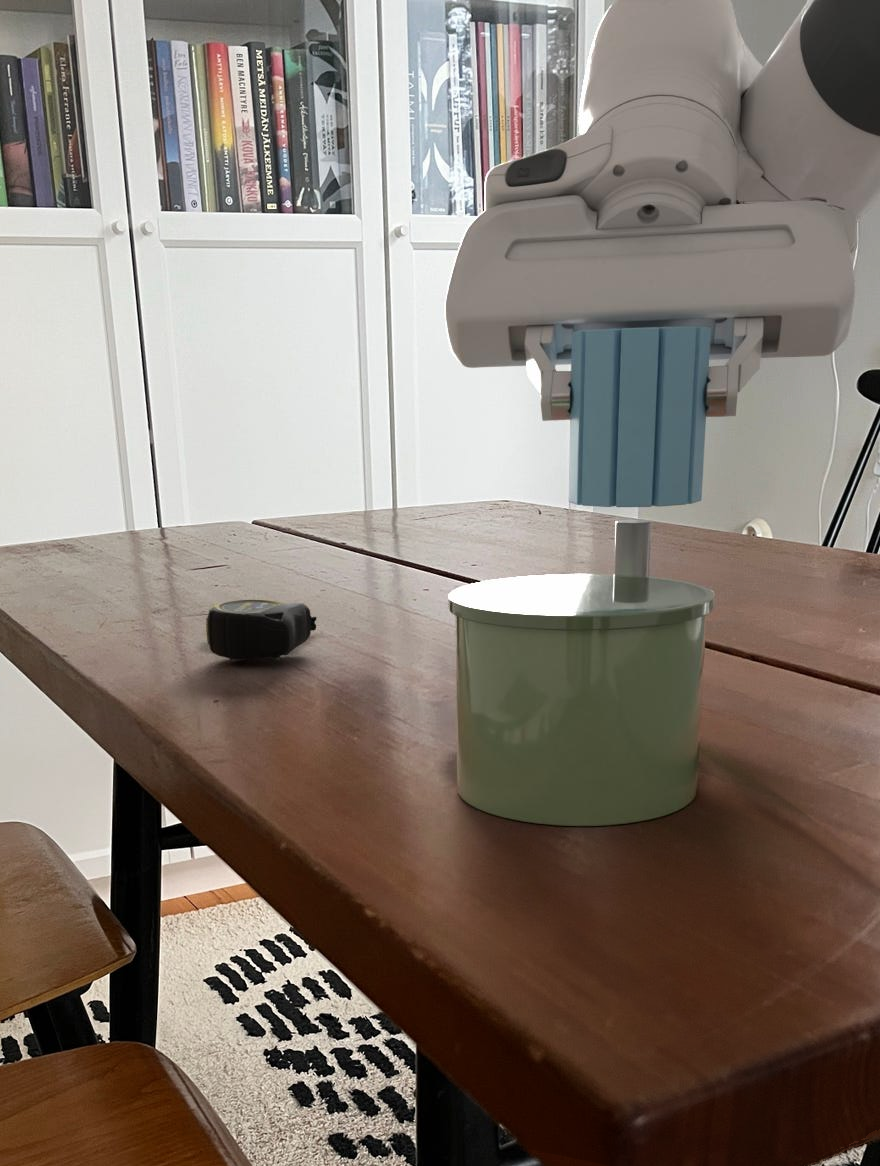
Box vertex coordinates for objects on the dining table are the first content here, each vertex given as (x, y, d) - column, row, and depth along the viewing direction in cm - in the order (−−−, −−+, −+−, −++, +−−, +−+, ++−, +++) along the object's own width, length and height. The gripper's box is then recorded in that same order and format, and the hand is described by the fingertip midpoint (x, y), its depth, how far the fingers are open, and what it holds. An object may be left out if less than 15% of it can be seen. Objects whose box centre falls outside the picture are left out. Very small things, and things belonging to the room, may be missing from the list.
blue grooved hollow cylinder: (673, 493, 67) (681, 331, 64) (719, 504, 61) (730, 325, 58) (556, 498, 66) (559, 334, 64) (590, 509, 60) (595, 328, 57)
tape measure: (289, 670, 85) (285, 614, 83) (193, 667, 86) (189, 612, 85) (318, 650, 91) (315, 597, 90) (228, 648, 93) (225, 596, 91)
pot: (676, 841, 52) (691, 568, 48) (413, 813, 56) (407, 560, 52) (745, 723, 69) (760, 515, 65) (540, 709, 73) (542, 513, 69)
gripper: (848, 250, 68) (850, 451, 62) (472, 269, 72) (443, 458, 67) (866, 142, 62) (871, 352, 57) (457, 170, 66) (424, 367, 61)
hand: (636, 409), depth 62 cm, fingers closed on blue grooved hollow cylinder, 6 cm apart
